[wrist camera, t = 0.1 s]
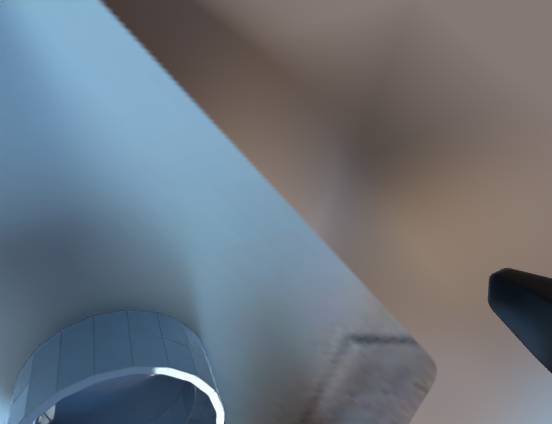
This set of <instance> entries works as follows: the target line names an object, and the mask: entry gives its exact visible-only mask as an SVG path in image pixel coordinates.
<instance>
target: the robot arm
mask: <svg viewBox="0 0 552 424" xmlns="http://www.w3.org/2000/svg"><path fill="white" fill-rule="evenodd" d="M488 303H489V305H490V307H491V309H492V310H493V311H494V312H495V313H496V315H497V316H498V317H499V318H500V319H501V320H502V321H503V322H504V323H505V324H506V325H507V327H508V328H509V329H510V330H511V331H512V332H513V333H514V334H515V336H517V338H518V339H519V340H520V341H521V342H522V343H523V344H524V345H525V346H526V348H527V349H528V350H529V351H530V352H531V353H532V354H533V355H534V356H535V357H536V358H537V359H538V360H539V361H540V362H541V363H542V364H543V365H544V366H545V367H546V368H547V369H548V370H549V371H550V372H551V373H552V278H548V277H543V276H539V275H535V274H531V273H527V272H523V271H519V270H515V269H511V268H504V269H501V270H499V271H497V272H495V273H493V274H491V276H490V277H489V287H488Z"/></svg>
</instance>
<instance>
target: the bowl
mask: <svg viewBox="0 0 552 424" xmlns="http://www.w3.org/2000/svg"><path fill="white" fill-rule="evenodd" d="M7 424H225V408H224V405H223V402H222V399H221V396H220V393H219V390H218V387H217V384H216V381H215V379H214V375H213V373H212V370H211V367H210V364H209V361H208V358H207V355H206V353H205V350H204V348H203V346H202V344H201V341H200V339H199V338H198V336H197V335H196V334H195V333H194V332H192V331H191V330H190V329H189V328H188V327H187V326H186V325H185V324H183V323H182V322H181V321H178V320H175V319H173V318H170V317H168V316H165V315H162V314H160V313H154V312H142V311H129V310H128V311H126V310H124V311H118V312H112V313H107V314H101V315H95V316H94V317H93V316H92V317H90V318H87V319H85V320H83V321H80V322H78V323H75V324H73V325H71V326H68V327H66V328H64V329H63V330H60V331H59V332H57V333H56V334H55V335H54V336H52V337H51V338H50V339H48V340H47V341H46V342H44V343H43V344H42V345H40V346H39V347H38V348H37V349H36V350H35V351H34V352H33V353H32V355H31V356H30V358H29V359H28V360H27V362H26V363H25V365H24V366H23V367H22V369H21V370H20V372H19V374H18V375H17V380H16V384H15V388H14V392H13V397H12V402H11V407H10V412H9V417H8V422H7Z"/></svg>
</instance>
